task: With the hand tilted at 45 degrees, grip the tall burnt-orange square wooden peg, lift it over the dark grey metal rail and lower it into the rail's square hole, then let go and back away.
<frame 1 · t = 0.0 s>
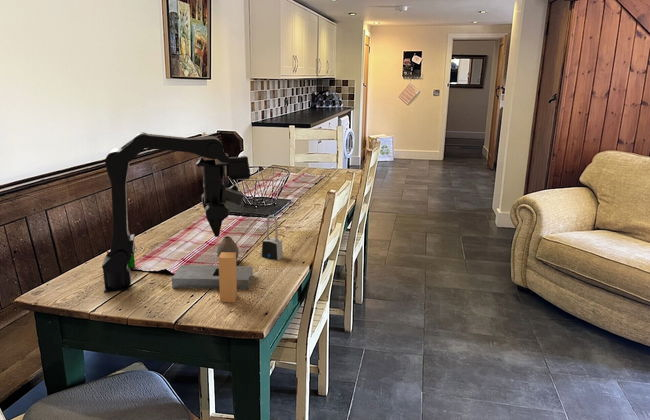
hand: (215, 231, 143), 15 cm above the table, tool pointing down, fingers open, 9 cm apart
vase: (228, 262, 159), on the table
rail: (224, 281, 144), on the table
peg: (228, 298, 134), on the table
rubik's cube: (121, 267, 152), on the table
padlock: (272, 257, 164), on the table
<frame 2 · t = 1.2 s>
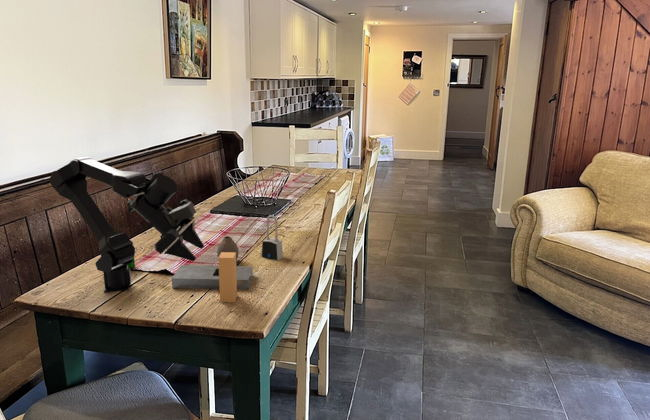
hand: (199, 253, 130), 13 cm above the table, tool tilted 45°, fingers open, 9 cm apart
nothing on the table moved.
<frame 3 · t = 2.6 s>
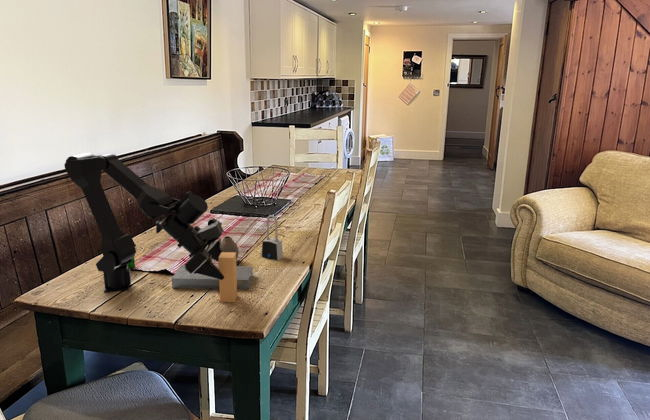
hand: (226, 271, 131), 8 cm above the table, tool tilted 45°, fingers open, 9 cm apart
nothing on the table moved.
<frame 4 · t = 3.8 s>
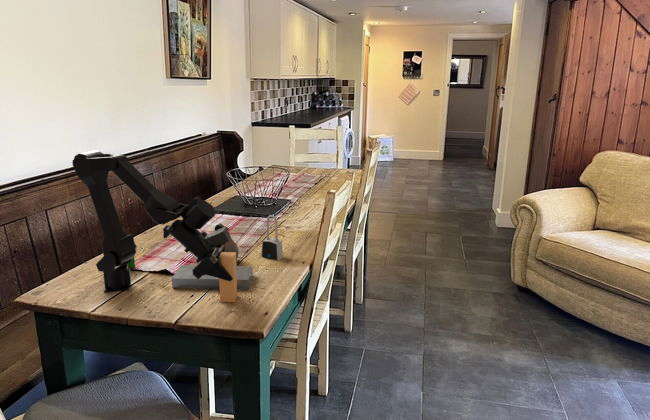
hand: (233, 276, 132), 7 cm above the table, tool tilted 45°, fingers closed on peg, 4 cm apart
peg: (228, 298, 134), on the table, touching gripper
everything else where it was.
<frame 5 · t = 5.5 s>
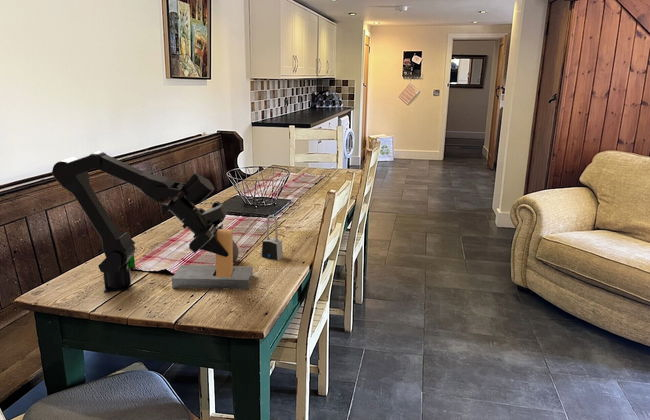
hand: (229, 253, 136), 11 cm above the table, tool tilted 45°, fingers closed on peg, 4 cm apart
peg: (224, 274, 138), point 5 cm above the table, touching gripper
everything else where it was.
when the fingers open (7 cm above the table, at t = 7.2 s): peg stays where it is, resting in rail.
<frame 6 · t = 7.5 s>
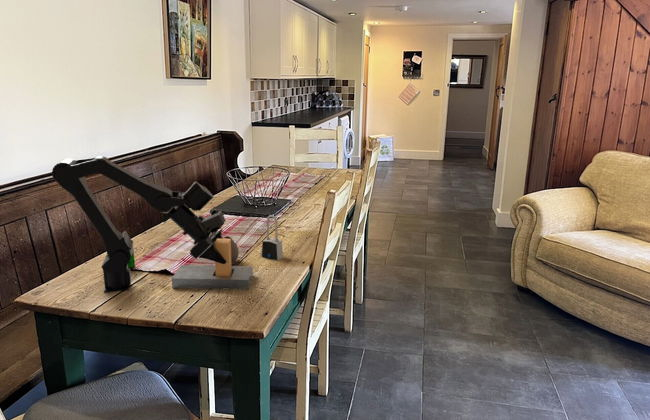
hand: (227, 258, 142), 8 cm above the table, tool tilted 45°, fingers open, 7 cm apart
peg: (224, 281, 144), resting in rail
everything else where it was.
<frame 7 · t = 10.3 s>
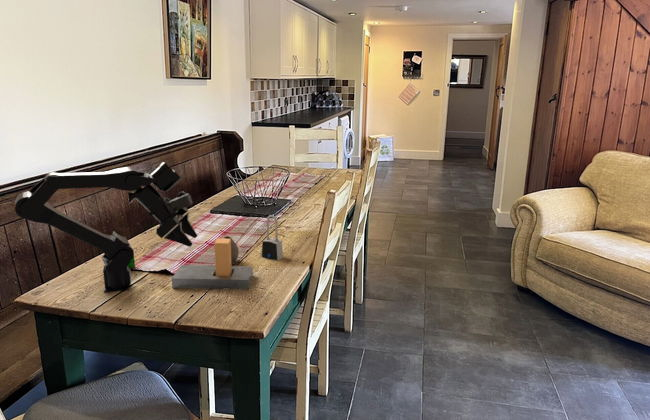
hand: (193, 241, 141), 13 cm above the table, tool tilted 45°, fingers open, 9 cm apart
nothing on the table moved.
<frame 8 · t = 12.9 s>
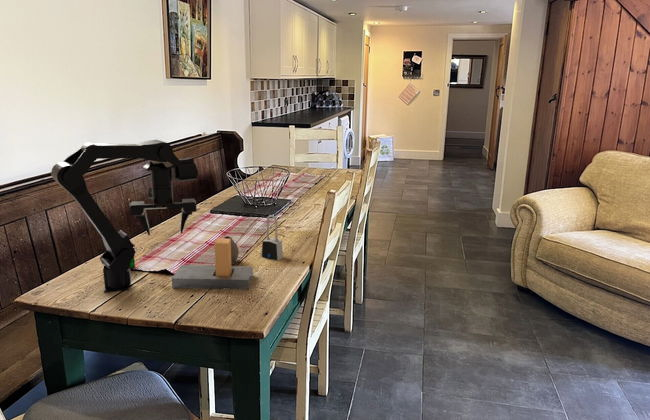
hand: (165, 234, 145), 13 cm above the table, tool pointing down, fingers open, 9 cm apart
nothing on the table moved.
at the end: peg 0.0 cm off-centre on the rail, point 0.0 cm above the rail's base; peg tilted 0°; the gripper is holding nothing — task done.
